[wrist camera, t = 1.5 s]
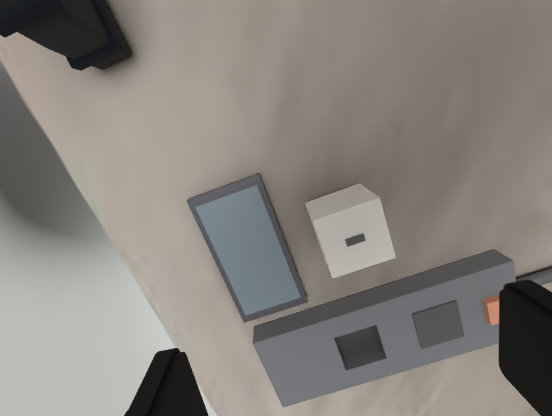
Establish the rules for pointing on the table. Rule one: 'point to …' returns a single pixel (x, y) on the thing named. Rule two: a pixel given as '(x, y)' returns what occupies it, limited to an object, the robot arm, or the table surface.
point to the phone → (248, 247)
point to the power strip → (387, 328)
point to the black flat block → (68, 29)
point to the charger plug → (351, 229)
